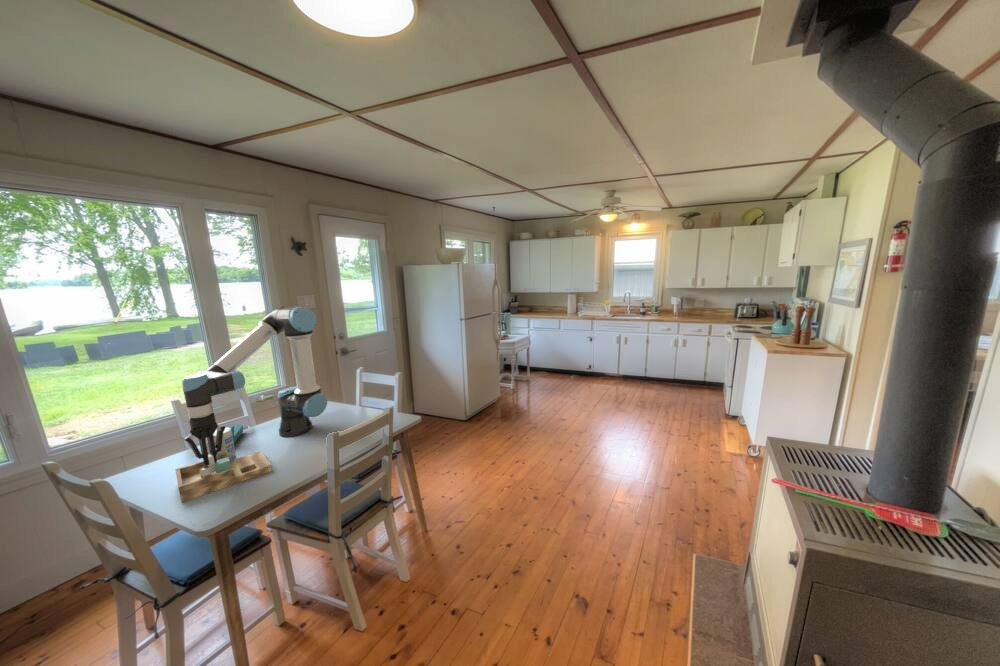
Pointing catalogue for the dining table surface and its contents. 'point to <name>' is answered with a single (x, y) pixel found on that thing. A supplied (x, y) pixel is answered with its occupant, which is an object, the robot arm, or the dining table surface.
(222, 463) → the cube
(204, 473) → the silver metal knob
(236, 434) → the teal l-shaped bracket
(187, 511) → the dining table surface
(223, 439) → the supplement tub
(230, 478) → the wooden tray
